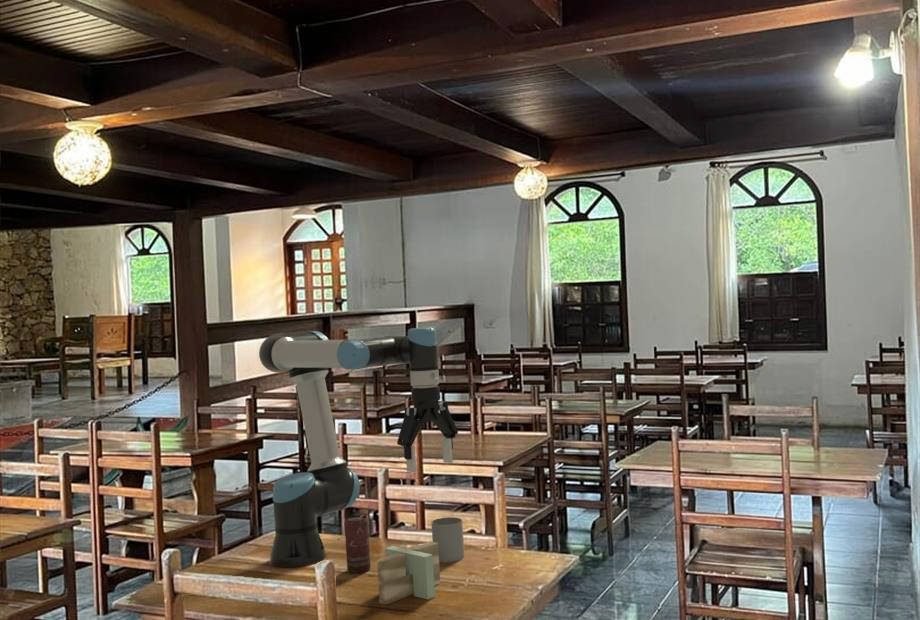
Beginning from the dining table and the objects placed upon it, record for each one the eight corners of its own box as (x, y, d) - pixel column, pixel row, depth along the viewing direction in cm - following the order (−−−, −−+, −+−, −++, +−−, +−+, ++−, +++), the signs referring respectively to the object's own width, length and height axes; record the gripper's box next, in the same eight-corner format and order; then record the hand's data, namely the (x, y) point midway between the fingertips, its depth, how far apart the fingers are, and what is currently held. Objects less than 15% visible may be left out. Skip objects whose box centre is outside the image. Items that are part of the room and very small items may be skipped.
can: (375, 567, 227) (372, 515, 227) (362, 574, 221) (359, 521, 221) (355, 565, 229) (352, 514, 229) (343, 573, 223) (339, 520, 223)
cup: (460, 562, 227) (458, 525, 227) (430, 562, 228) (428, 525, 228) (466, 553, 235) (464, 517, 235) (437, 553, 236) (435, 517, 236)
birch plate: (379, 602, 198) (377, 560, 198) (433, 581, 212) (431, 541, 212) (386, 604, 197) (383, 561, 197) (440, 583, 210) (437, 543, 210)
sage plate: (387, 588, 208) (385, 548, 208) (395, 586, 210) (392, 545, 210) (427, 599, 199) (425, 557, 199) (435, 596, 200) (432, 554, 200)
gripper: (400, 391, 210) (405, 477, 210) (467, 381, 229) (472, 459, 229) (380, 391, 216) (385, 474, 216) (447, 381, 234) (452, 457, 234)
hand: (430, 467), depth 222 cm, fingers open, 13 cm apart
